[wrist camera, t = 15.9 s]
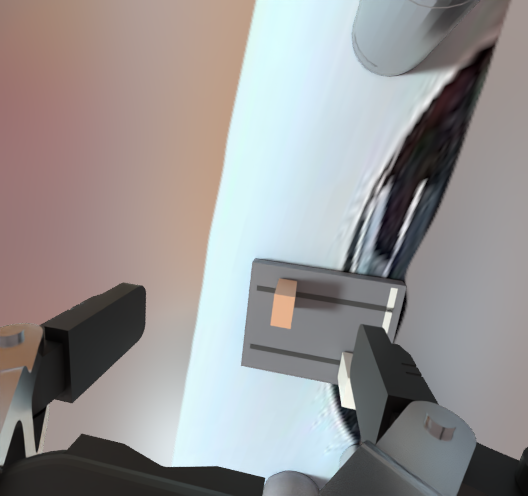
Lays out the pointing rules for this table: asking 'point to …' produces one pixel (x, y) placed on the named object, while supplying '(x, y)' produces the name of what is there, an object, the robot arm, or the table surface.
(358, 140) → the table surface
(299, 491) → the pillar candle
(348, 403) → the cream fader
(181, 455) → the table surface
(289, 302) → the block
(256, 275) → the fader panel
